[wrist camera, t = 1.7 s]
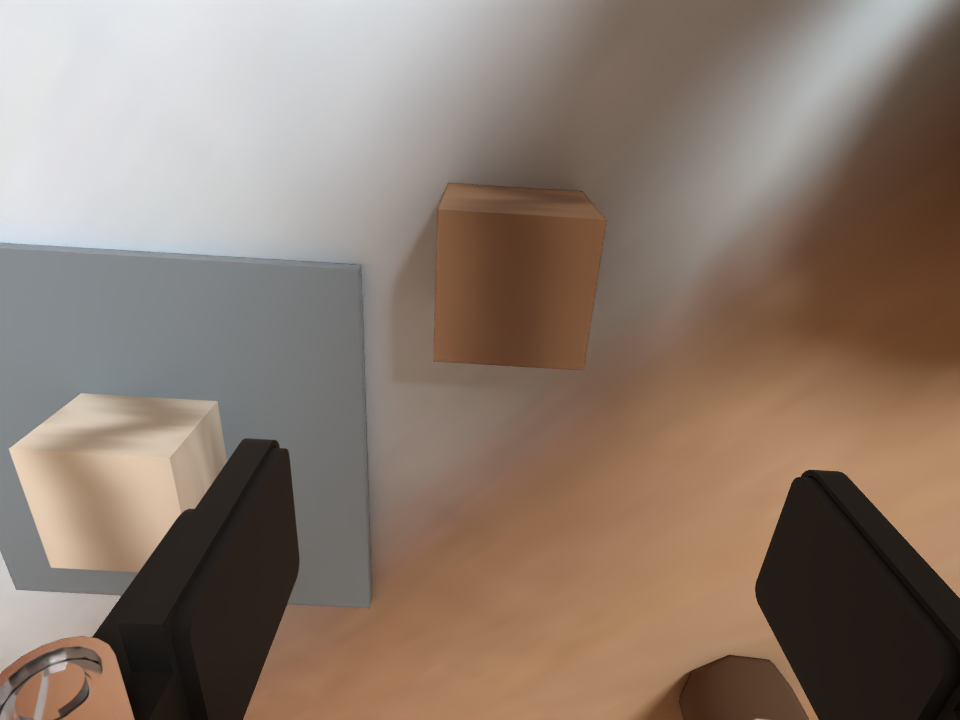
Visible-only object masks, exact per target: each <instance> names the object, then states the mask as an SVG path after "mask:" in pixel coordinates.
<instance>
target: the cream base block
mask: <svg viewBox="0 0 960 720" xmlns="http://www.w3.org/2000/svg"><path fill="white" fill-rule="evenodd" d="M9 451H10V454H11V457H12V460H13V463H14V465H15V468H16V471H17V474H18V477H19V479H20V482H21V485H22V488H23V491H24V493H25V496H26V499H27V502H28V505H29V507H30V510H31V513H32V516H33V519H34V521H35V524H36V527H37V530H38V533H39V536H40V538H41V541H42V544H43V547H44V550H45V552H46V555H47V558H48V561H49V564H50V566H51V568H67V569H85V570H104V571H123V572H139V571H140V570H141V568H142V567H143V565H144V564H145V563H146V561H147V560H148V558H149V557H150V556H151V554H152V553H153V551H154V550H155V549H156V547H157V546H158V544H159V543H160V542H161V540H162V539H163V537H164V536H165V535H166V533H167V532H168V530H169V529H170V528H171V526H172V525H173V523H174V522H175V521H176V519H177V518H178V517H179V516H180V514H181V513H182V512H183V511H185V510H187V509H195V508H196V506H197V505H198V503H199V502H200V500H201V499H202V498H203V496H204V495H205V493H206V492H207V490H208V489H209V487H210V486H211V484H212V483H213V482H214V480H215V479H216V477H217V476H218V474H219V473H220V471H221V470H222V468H223V467H224V466H225V464H226V463H227V457H226V451H225V445H224V439H223V433H222V426H221V420H220V414H219V408H218V401H206V400H189V399H172V398H154V397H137V396H119V395H102V394H84V393H81V394H80V395H78V396H77V397H76V398H74V399H73V400H72V401H70V402H69V403H68V404H67V405H65V406H64V407H63V408H61V409H60V410H59V411H57V412H56V413H55V414H54V415H52V416H51V417H50V418H48V419H47V420H46V421H44V422H43V423H42V424H40V425H39V426H38V427H37V428H35V429H34V430H33V431H31V432H30V433H29V434H27V435H26V436H25V437H24V438H22V439H21V440H20V441H18V442H17V443H16V444H14V445H13V446H12V447H11V448H9Z"/></svg>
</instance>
